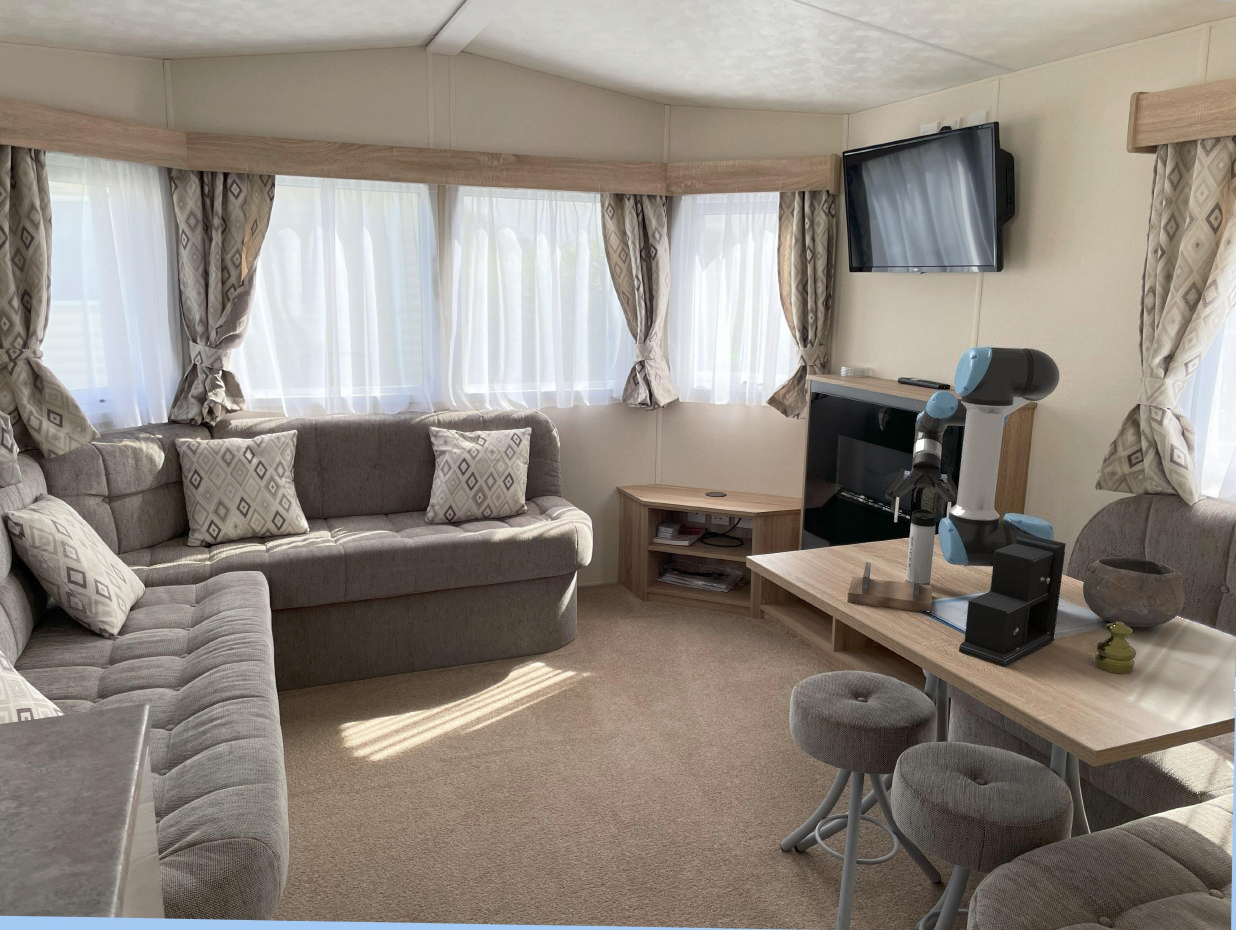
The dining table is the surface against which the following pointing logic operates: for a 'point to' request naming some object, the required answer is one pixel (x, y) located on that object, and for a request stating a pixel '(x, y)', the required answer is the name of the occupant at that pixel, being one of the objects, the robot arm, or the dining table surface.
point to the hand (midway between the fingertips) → (921, 522)
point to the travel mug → (921, 546)
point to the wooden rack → (890, 592)
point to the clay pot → (1133, 591)
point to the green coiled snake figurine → (1116, 650)
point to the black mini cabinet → (1016, 602)
